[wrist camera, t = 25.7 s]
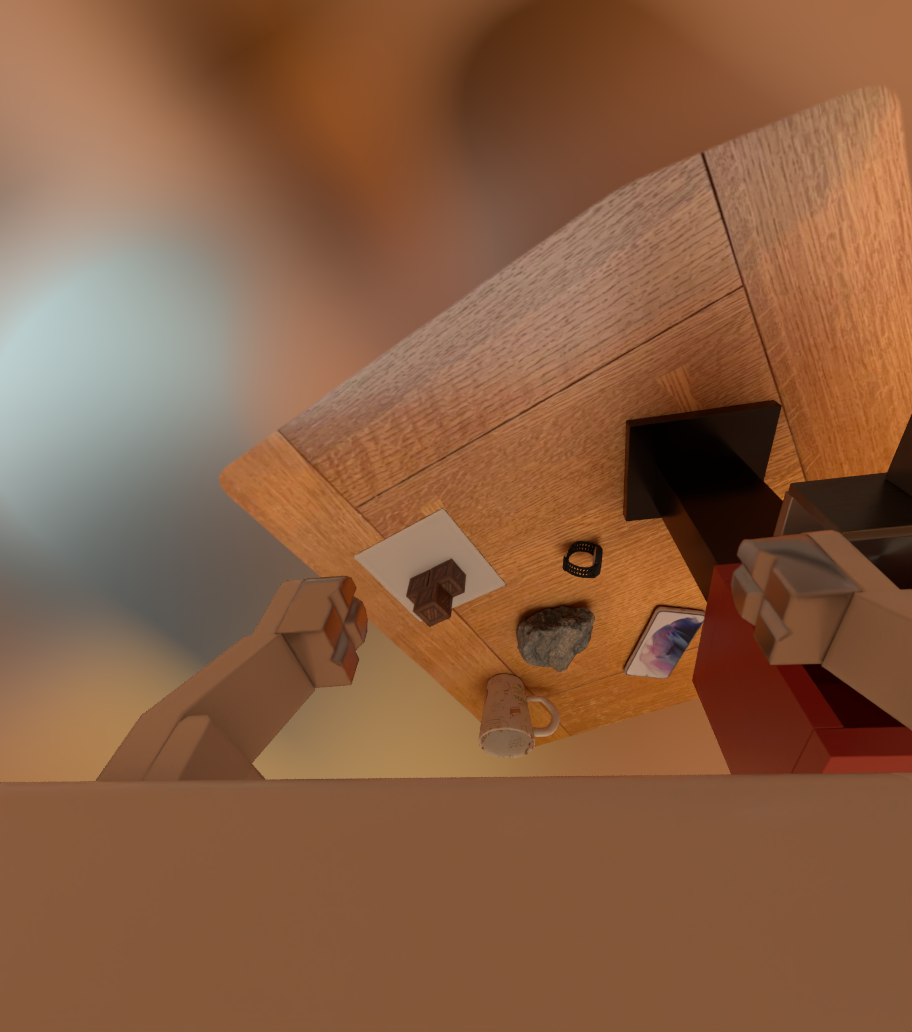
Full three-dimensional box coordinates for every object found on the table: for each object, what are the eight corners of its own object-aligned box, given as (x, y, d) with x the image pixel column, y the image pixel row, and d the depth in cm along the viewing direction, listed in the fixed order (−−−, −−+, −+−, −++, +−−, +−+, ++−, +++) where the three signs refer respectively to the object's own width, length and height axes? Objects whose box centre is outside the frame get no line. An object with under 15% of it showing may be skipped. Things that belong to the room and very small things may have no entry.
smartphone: (709, 614, 60) (667, 679, 68) (706, 609, 60) (665, 675, 69) (657, 609, 60) (622, 675, 68) (655, 604, 60) (621, 670, 69)
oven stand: (626, 420, 46) (830, 757, 18) (774, 399, 43) (1274, 749, 16) (622, 514, 52) (768, 865, 25) (750, 500, 50) (1071, 870, 22)
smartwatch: (591, 561, 57) (598, 588, 53) (554, 550, 56) (559, 577, 52) (607, 538, 55) (616, 565, 50) (569, 526, 54) (575, 552, 50)
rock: (547, 655, 69) (550, 684, 64) (500, 625, 65) (500, 653, 61) (612, 617, 63) (620, 645, 58) (564, 581, 59) (569, 609, 55)
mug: (480, 668, 72) (478, 727, 63) (558, 670, 70) (566, 731, 62) (480, 697, 76) (479, 756, 68) (554, 700, 75) (561, 760, 67)
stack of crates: (443, 508, 54) (437, 543, 48) (506, 584, 60) (507, 623, 55) (353, 556, 59) (338, 592, 54) (420, 621, 66) (413, 660, 60)
